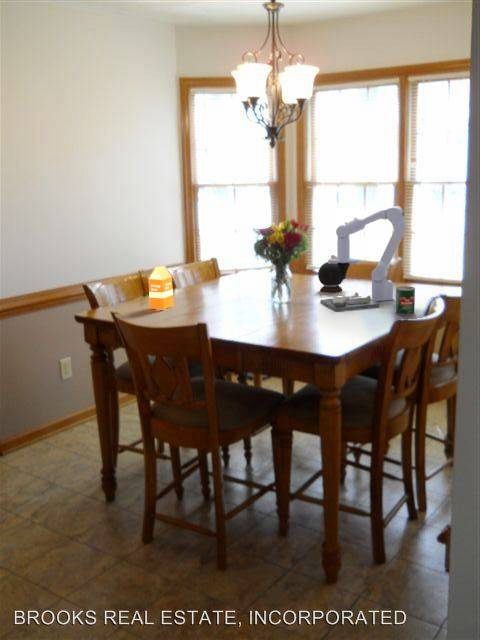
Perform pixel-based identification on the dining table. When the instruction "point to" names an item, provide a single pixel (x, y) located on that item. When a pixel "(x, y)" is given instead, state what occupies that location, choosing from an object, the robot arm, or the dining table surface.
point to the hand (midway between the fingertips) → (343, 278)
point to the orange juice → (160, 288)
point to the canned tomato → (405, 300)
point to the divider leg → (352, 296)
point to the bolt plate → (348, 307)
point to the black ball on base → (330, 278)
